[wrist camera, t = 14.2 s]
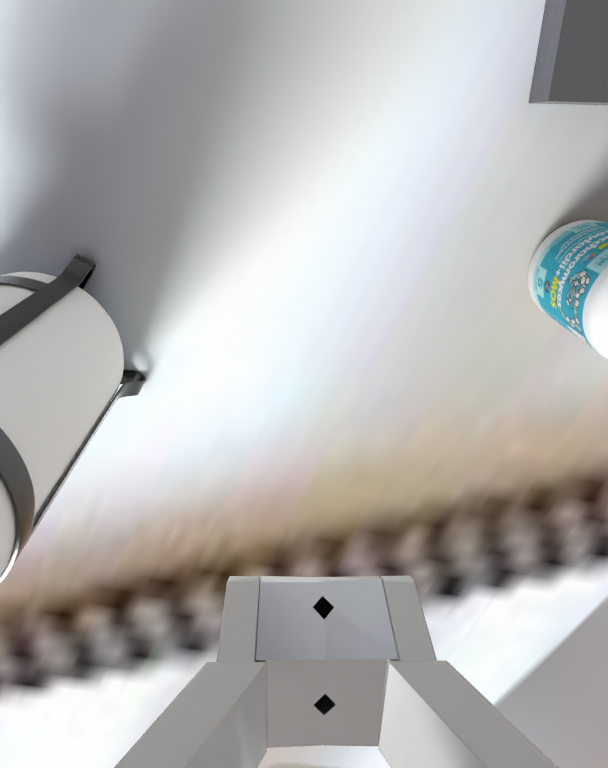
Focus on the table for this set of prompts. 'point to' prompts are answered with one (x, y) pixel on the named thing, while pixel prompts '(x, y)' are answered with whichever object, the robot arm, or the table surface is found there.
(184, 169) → the table surface
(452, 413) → the table surface
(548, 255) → the pill bottle
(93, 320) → the coffee press
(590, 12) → the panel
